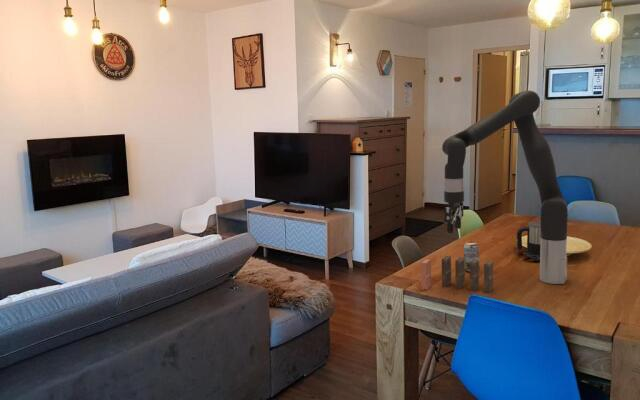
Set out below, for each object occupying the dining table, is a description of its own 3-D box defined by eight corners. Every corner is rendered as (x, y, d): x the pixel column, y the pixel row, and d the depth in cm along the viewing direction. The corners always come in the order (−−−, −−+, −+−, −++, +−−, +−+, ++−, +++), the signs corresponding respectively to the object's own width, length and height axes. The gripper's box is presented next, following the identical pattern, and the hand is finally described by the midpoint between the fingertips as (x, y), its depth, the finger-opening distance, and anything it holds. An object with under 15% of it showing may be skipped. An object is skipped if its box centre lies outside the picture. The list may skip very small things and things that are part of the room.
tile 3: (464, 284, 201) (464, 257, 199) (460, 288, 197) (460, 261, 195) (459, 283, 202) (459, 257, 200) (455, 287, 198) (455, 260, 196)
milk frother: (543, 251, 239) (543, 221, 236) (559, 261, 223) (560, 228, 221) (513, 253, 239) (513, 222, 236) (527, 263, 223) (528, 230, 221)
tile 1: (493, 288, 195) (493, 261, 193) (489, 292, 191) (489, 264, 189) (487, 287, 196) (487, 260, 194) (484, 292, 192) (483, 264, 190)
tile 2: (478, 286, 198) (478, 259, 196) (475, 290, 194) (474, 263, 192) (473, 285, 199) (473, 258, 197) (469, 289, 195) (469, 262, 193)
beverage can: (469, 273, 213) (469, 246, 211) (460, 269, 220) (460, 242, 218) (482, 271, 215) (482, 244, 213) (473, 267, 222) (473, 240, 220)
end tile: (431, 286, 201) (430, 259, 199) (426, 290, 197) (426, 263, 195) (426, 285, 202) (425, 259, 200) (421, 289, 198) (420, 262, 196)
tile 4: (451, 282, 204) (451, 256, 202) (447, 286, 200) (446, 259, 198) (446, 282, 205) (445, 255, 203) (441, 285, 201) (441, 259, 199)
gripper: (457, 193, 189) (457, 235, 191) (469, 187, 200) (469, 227, 203) (437, 192, 193) (438, 233, 195) (451, 186, 204) (451, 226, 207)
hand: (454, 230), depth 199 cm, fingers open, 8 cm apart
